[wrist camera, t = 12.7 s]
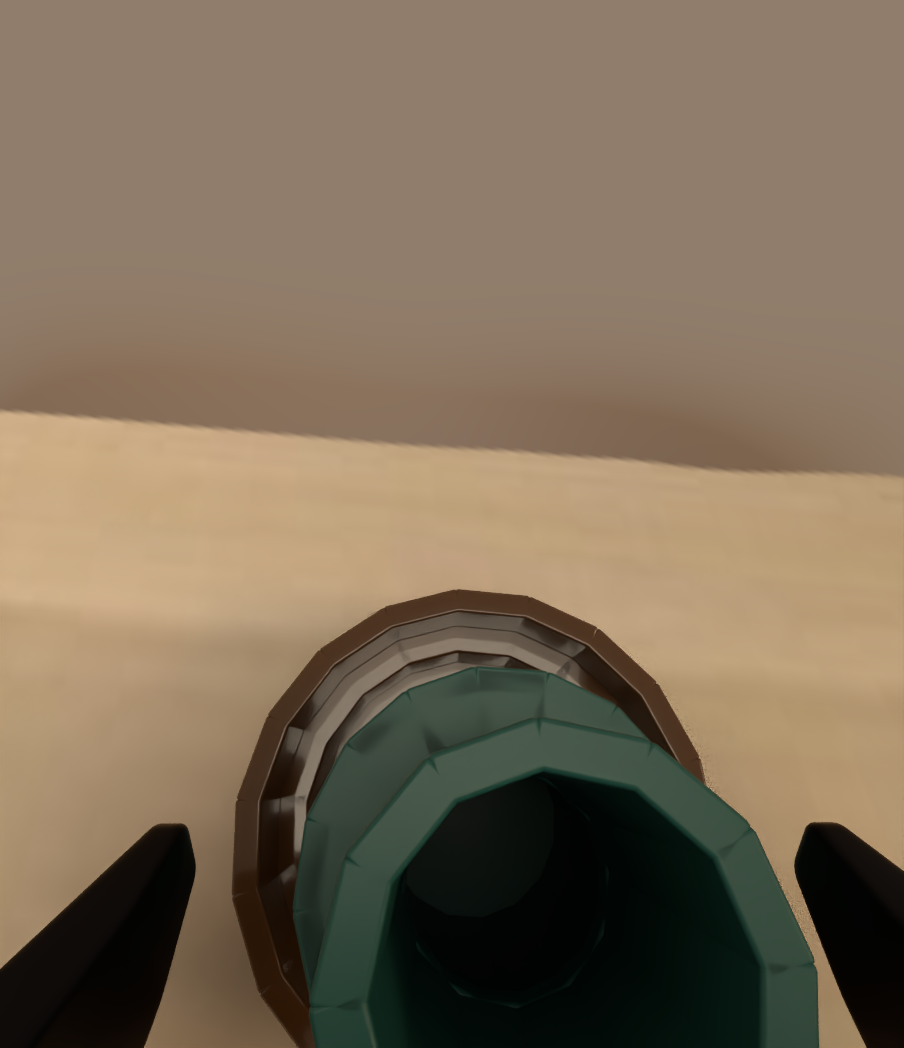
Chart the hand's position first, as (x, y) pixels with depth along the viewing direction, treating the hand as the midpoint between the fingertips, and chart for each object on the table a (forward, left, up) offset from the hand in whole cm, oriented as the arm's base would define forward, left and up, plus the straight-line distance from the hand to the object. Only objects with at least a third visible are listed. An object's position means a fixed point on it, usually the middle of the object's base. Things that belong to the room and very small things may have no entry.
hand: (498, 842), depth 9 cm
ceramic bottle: (0, 0, -9) cm, 9 cm away
